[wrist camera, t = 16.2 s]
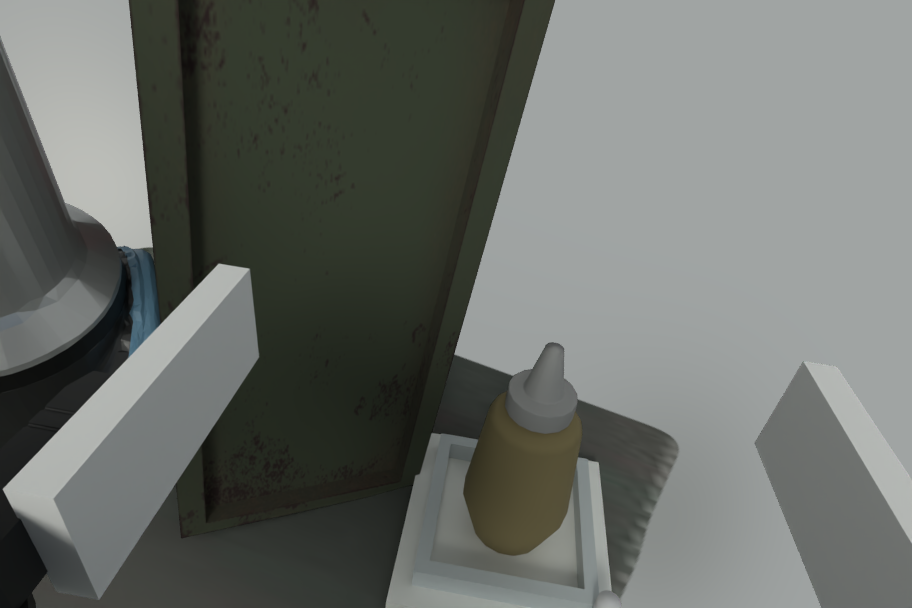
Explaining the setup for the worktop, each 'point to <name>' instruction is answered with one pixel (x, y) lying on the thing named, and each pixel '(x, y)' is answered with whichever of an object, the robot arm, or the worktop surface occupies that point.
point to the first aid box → (328, 220)
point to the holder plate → (484, 570)
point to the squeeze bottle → (525, 459)
